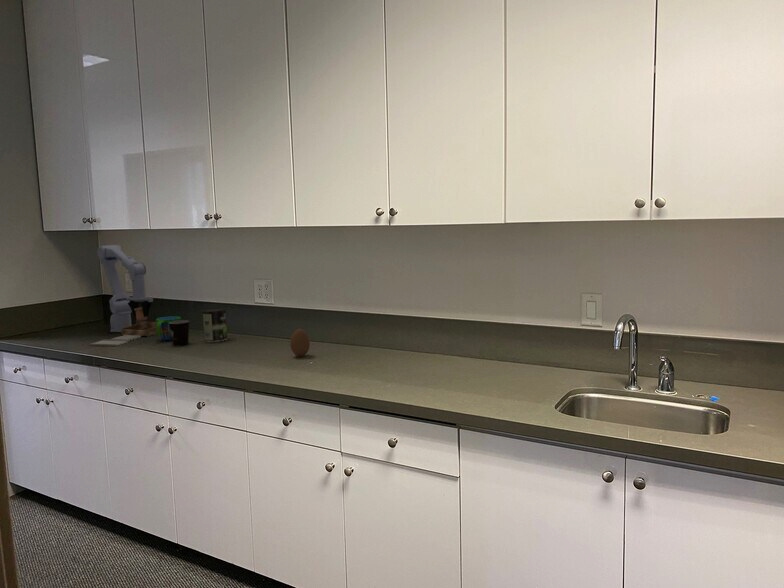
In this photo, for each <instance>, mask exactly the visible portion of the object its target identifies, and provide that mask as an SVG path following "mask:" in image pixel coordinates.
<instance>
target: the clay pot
mask: <svg viewBox="0 0 784 588" xmlns="http://www.w3.org/2000/svg"><path fill="white" fill-rule="evenodd" d="M134 311H135V312H136V316H135V317H136V321H140V322H144V321H147V320H148V316H147V317H144V315H143V309H142V306H140V307H139V306H138V308H134Z"/></svg>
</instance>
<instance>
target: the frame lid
mask: <svg viewBox="0 0 784 588" xmlns="http://www.w3.org/2000/svg"><path fill="white" fill-rule="evenodd" d="M129 342H130V341H129V340H111V339H101V340H100V341H96V342H93V343H92V342H91V343H88V346H89V347H113V346H116V347H118V345H119V346H121V344H122V345H124V343H125V344H128V343H129Z"/></svg>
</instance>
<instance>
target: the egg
mask: <svg viewBox="0 0 784 588" xmlns="http://www.w3.org/2000/svg"><path fill="white" fill-rule="evenodd" d="M310 343H311V342H310V337H309V335H308V334H307V332H306V331H305V330H304V329H301V328H298V329H296V330H295V331H294V332H293V333H292V335H291V338H290V341H289V345H290V349H291V351H292V353H293V355H295V356H297V357H304V356H305V355H307V354H308V352H309V350H310V346H311V344H310Z"/></svg>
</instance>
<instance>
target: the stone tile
mask: <svg viewBox="0 0 784 588" xmlns="http://www.w3.org/2000/svg"><path fill="white" fill-rule="evenodd" d="M140 337H141V336H138V335H123V336H121V335H120V336H116V337H113V338H110V340H129V342H131V341H134V340H137V338H138V339H141V338H142V337H141V338H140ZM133 339H134V340H133ZM130 340H131V341H130Z"/></svg>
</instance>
